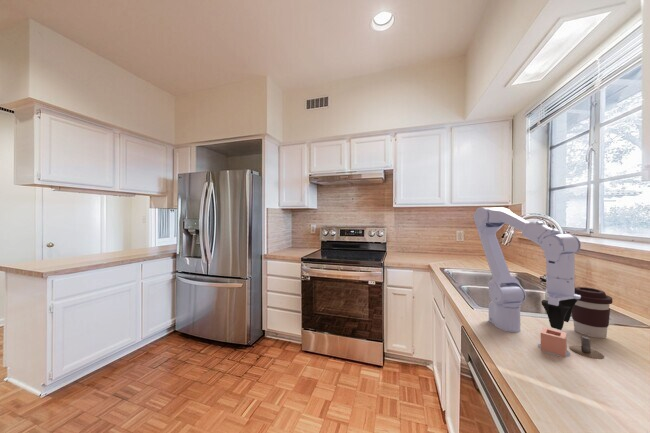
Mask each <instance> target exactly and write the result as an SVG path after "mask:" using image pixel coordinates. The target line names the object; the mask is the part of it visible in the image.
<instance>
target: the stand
mask: <svg viewBox="0 0 650 433" xmlns="http://www.w3.org/2000/svg"><path fill="white" fill-rule="evenodd" d="M537 348H538V349H540V350H541V343H538V344H537ZM541 351H543V350H541ZM543 352H544V353H546V354H549V355H552V356H557V357H562V358H563V357H564V356H560V355H557V354H554V353H550V352H547V351H543ZM570 356H571V352H570V351H569V350H567V351H566V357H564V358H568V357H570Z"/></svg>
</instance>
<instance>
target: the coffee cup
mask: <svg viewBox="0 0 650 433" xmlns="http://www.w3.org/2000/svg"><path fill="white" fill-rule="evenodd" d="M575 294H577V295H581V298H580V299H578V301H577V302H576V303H575V305H574V307H573V309H572V313H571V317H572V320H573V329H574V332H576V333H579V334H581V335H583V336H586V337H587V336H588V337H593V338H598V339H607V338H608V336H607V335H608V327H609V326H610V317H611V316H610V314H611V309H610V305H611V304H613V297H611V296H610V295H607V294H606V292H605V291H604V290H601V289H597V288H593V287H585V286H576V287H575Z"/></svg>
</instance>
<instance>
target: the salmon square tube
mask: <svg viewBox="0 0 650 433" xmlns="http://www.w3.org/2000/svg"><path fill="white" fill-rule="evenodd" d="M540 344H541V349H540V351H542V350H543V352H544V351H547V352H550V353H554V354H557V355H560V356H559V357H561V356H564V358H567V357H566V351H568V349H567V332H565V331H562V330H558V329H554V328H548V327H544V326H542V328H541V330H540Z"/></svg>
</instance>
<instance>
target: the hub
mask: <svg viewBox="0 0 650 433" xmlns="http://www.w3.org/2000/svg"><path fill="white" fill-rule="evenodd" d="M580 338H581V340H580V343H581V345H575V344H574V345H569V346H568V349H569V350H570V351H572V353H574V354H577V355H579V356H581V357H584V358H588V359H593V360H603V359H605V355H604V354H603V353H601V352H600V351H598V350H596V349H593V348H591V346H592V345H591V344H592V343H591V338H590V337H589V336H588V337H587V336H585V335H583V336H581V337H580Z"/></svg>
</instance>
